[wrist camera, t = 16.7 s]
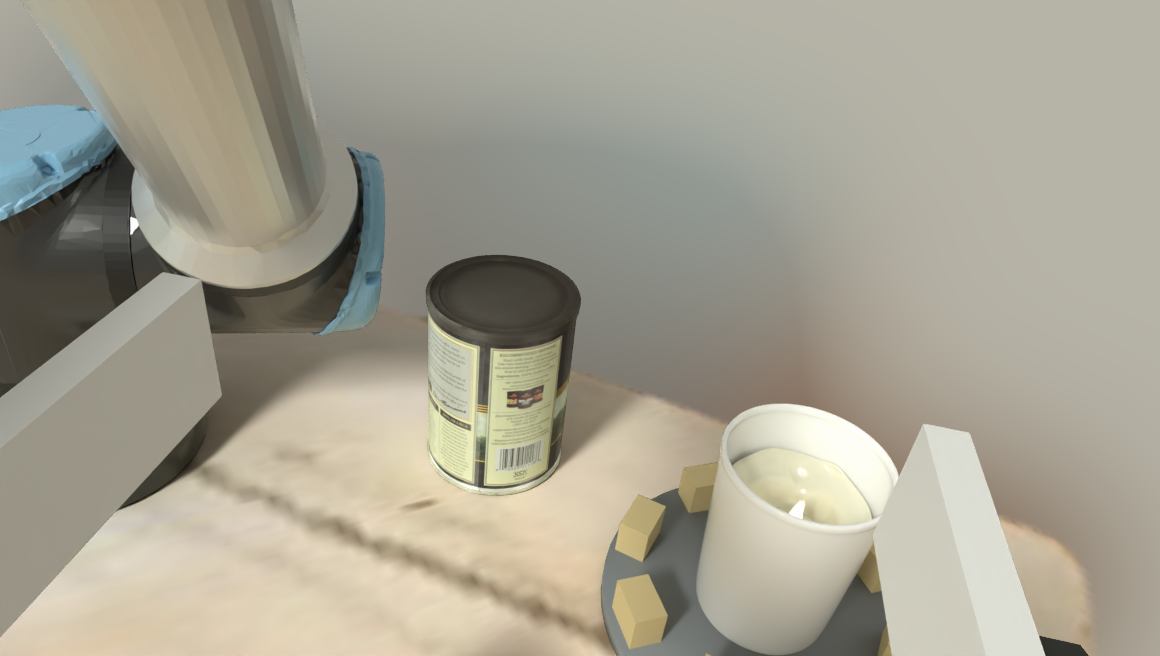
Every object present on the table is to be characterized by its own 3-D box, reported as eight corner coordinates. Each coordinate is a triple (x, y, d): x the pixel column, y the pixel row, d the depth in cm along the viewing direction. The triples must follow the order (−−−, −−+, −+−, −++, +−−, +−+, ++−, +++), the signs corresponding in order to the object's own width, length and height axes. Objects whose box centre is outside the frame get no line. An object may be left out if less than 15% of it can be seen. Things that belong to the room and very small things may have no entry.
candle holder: (754, 697, 45) (811, 555, 38) (652, 570, 52) (686, 430, 45) (870, 627, 50) (940, 490, 43) (764, 519, 56) (809, 386, 50)
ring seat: (561, 518, 56) (567, 480, 54) (806, 476, 62) (819, 441, 60) (676, 811, 41) (689, 773, 39) (985, 716, 47) (1011, 679, 45)
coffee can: (493, 387, 67) (503, 239, 59) (588, 449, 62) (611, 296, 54) (396, 445, 60) (392, 286, 52) (494, 520, 55) (505, 356, 47)
